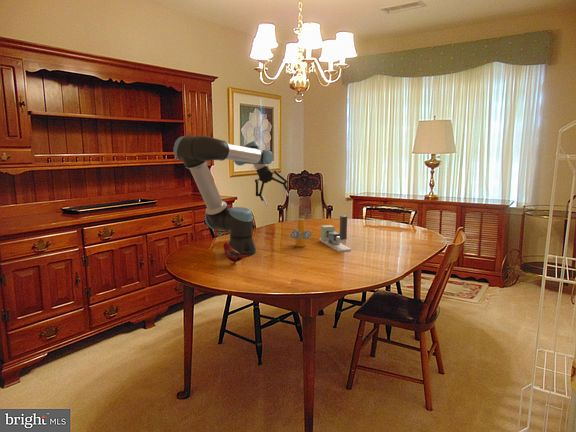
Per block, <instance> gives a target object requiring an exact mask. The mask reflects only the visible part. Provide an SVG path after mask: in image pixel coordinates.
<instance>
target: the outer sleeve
mask: <svg viewBox="0 0 576 432" xmlns="http://www.w3.org/2000/svg"><path fill="white" fill-rule="evenodd" d="M334 235H337V236H339V237H340V232H337V231H333V232H328V242H329V243H332V245H339V244H340V243H341V242H339V241H337V240H335V239H334Z"/></svg>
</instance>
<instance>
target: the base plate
mask: <svg viewBox="0 0 576 432" xmlns="http://www.w3.org/2000/svg"><path fill="white" fill-rule="evenodd" d="M318 241H319V242H321V243H322V244H324V245H326V246H328V247H329V248H331V249H332V250H334V251H336V253H342V252H344V253H345V252H351V251H352V248H350V247H348V246H346V245H345V244H343V243H341V242H340V244H339V245H332V243H329V242H328V241H323V240H322V239H321V238H319V239H318Z"/></svg>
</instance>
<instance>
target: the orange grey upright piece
mask: <svg viewBox="0 0 576 432" xmlns="http://www.w3.org/2000/svg"><path fill="white" fill-rule="evenodd" d="M305 221H306V219H305V218H297V229H296V228H295V229H293V231H292V232H291V234H290V236H291V238H292V239H295V247H300V248H303V247H304V248H305V247H307V240H308V239H310V237H311V236H312V231H311V230H310V229H305V228H306V223H305Z"/></svg>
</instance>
